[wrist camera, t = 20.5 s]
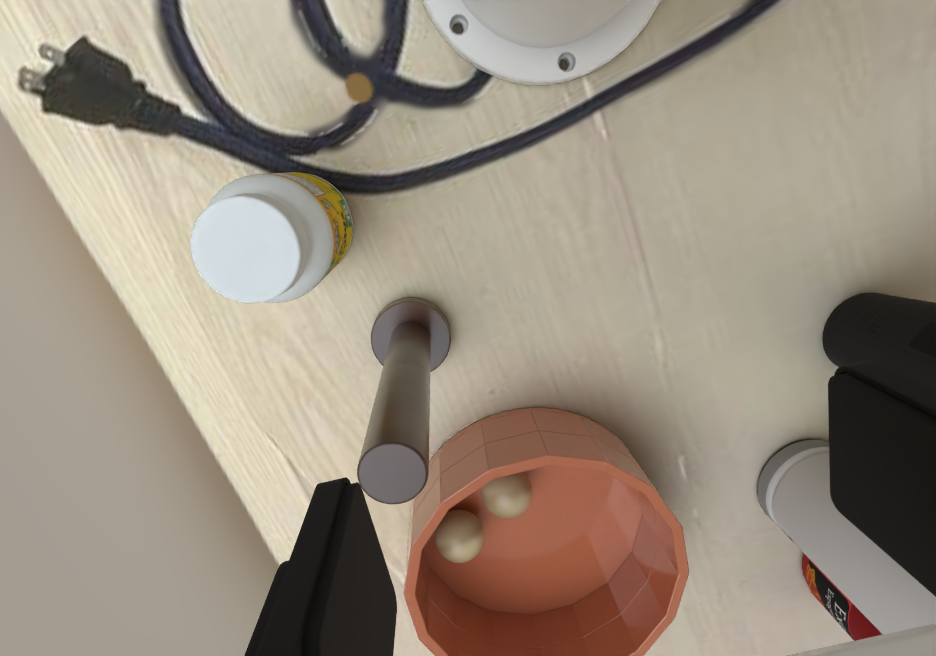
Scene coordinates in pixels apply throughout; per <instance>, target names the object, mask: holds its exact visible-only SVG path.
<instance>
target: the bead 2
mask: <svg viewBox="0 0 936 656" xmlns="http://www.w3.org/2000/svg"><path fill="white" fill-rule="evenodd" d="M481 495H482V500H483V502H484V504H485V506H486V508H487V509H488V510H489V511H490V512H491V513H492V514H494V515H495V516H497V517H500V518H504V519H511V518H515V517H518V516H520V515H521V514H523V513H524V512H525V511H526V510H527V508H528V507H529V505H530V503H531V500H532V485H531V482H530V480H529V478H528V477H527V475H526V474H525V473H524V472H519V473H515V474H511V475H507V476H503V477H499V478H495V479H493V480H491V481H490V482H488V483H487V484H485V485H484V486H482V488H481Z"/></svg>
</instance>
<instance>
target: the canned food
mask: <svg viewBox="0 0 936 656" xmlns="http://www.w3.org/2000/svg"><path fill="white" fill-rule="evenodd" d="M802 570H803V575H804V577H805V580H806V582H807V584H808V586H809V588H810V590H811V593H812V594H813V595H814V596H815V597H816V598H817V599H818V601H819V602H820V603H821V604H822V605H823V606H824V607H825V608H826V610H827V611H828V612H829V613H830V614H831V615H832V616H833V617H834V619H835V620H836V621H837V622H838V623H839V624H840V625H841V626H842V628H843V629H844V630H845V631H846V632H847V633H848V634H849V635H850V637H851V638H852V639H853V640H854V641H856V640H861V639H865V638H870V637H874V636H879V635H883V634H882V633H881V632H880V631H879V630H878V629H877V628H876V627H875V626H874V625H873V624H872V623H871V622H870V621H869V620H868V619H867V618H866V617H865V616H864V615H863V614H862V613H861V611H860V610H859V609H858V608H857V607H856V606H855V605H854V604H853V603H852V602H851V601H850V600H849V599H848V598H847V597H846V596H845V595H844V594H843V593H842V592H841V591H840V590H839V589H838V588H837V587H836V586H835V585H834V584H833V583H832V582H831V580H830V579H829V578H828V577H827V576H826V575H825V574H824V573H823V572H822V571H821V570H820V569H819V568H818V567H817V566H816V565H815V564H814V563H813V562H812V561H811V560H810V559H809V558H808V557H807V556H806V555H805V554H804V556H803V561H802Z"/></svg>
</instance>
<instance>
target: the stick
mask: <svg viewBox="0 0 936 656" xmlns="http://www.w3.org/2000/svg"><path fill="white" fill-rule="evenodd" d="M450 341H451V340H450V329H449V325H448V322H447V319H446V317H445V316H444V314H443V313H442V312H441V311H440V309H438V308H437V307H436V306H435V305H433V304H432V303H430V302H428V301H426V300H423V299H419V298H403V299H399V300H396V301H394V302H392V303H390V304H389V305H387V306H386V307H385V308H384V309H383V310H382V311H381V312H380V313H379V315H378V316H377V318H376V320H375V323H374V326H373V328H372V333H371V344H372V349H373V352H374V354H375V356H376V358H377V359H378V361H379V362H380V363H381V364H382V365H383V370H382V374H381V378H380V382H379V386H378V390H377V394H376V398H375V402H374V405H373V409H372V413H371V417H370V421H369V425H368V429H367V433H366V437H365V440H364V444H363V448H362V452H361V456H360V460H359V464H358V468H357V476H358V481H359V483H360V485H361V487H362V489H363V490H364V491H365V493H366V494H367V495H368V496H370V497H371V498H373V499H374V500H376V501H379V502H381V503H385V504H400V503H404V502H407V501H409V500H411V499H413V498H415V497H416V496H417V495H418V494H419V493H420V492H421V491H422V490H423V489H424V487H425V485H426V483H427V480H428V473H429V417H430V372H431V371H433V370H435V369H436V368H437V367H438V366H439V365H440V364H441V363H442V362H443V361H444V359H445V358H446V356H447V354H448V351H449V348H450Z"/></svg>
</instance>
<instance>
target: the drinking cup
mask: <svg viewBox="0 0 936 656" xmlns="http://www.w3.org/2000/svg"><path fill="white" fill-rule="evenodd" d="M823 347H824V350H825V353H826V355H827V356H828V358H829V359H830V360H831V361H832V362H833V363H834V364H835V365H837V366H838V367H842V366H846V365H851V364H855V363H860V362H864V361H870V360H873V361H876V362H879V363H881V364H883V365H885V366H887V367H890V368H892V369H894V370H896V371H898V372H900V373H903V374H905V375H907V376H909V377H911V378H913V379H916V380H918V381H920V382H922V383H924V384H926V385H929V386H931V387H933V388H935V389H936V303H933V302H927V301H921V300H915V299H909V298H902V297H896V296H890V295H884V294H878V293H864V294H859V295H856V296H854V297H851V298H849V299H848V300H846V301H844V302H843V303H842V304H840V305H839V306H838V307H837V308H836V309H835V310H834V312H833V313H832V314H831V316H830V317H829V319H828V321H827V323H826V325H825V328H824V332H823Z"/></svg>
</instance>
